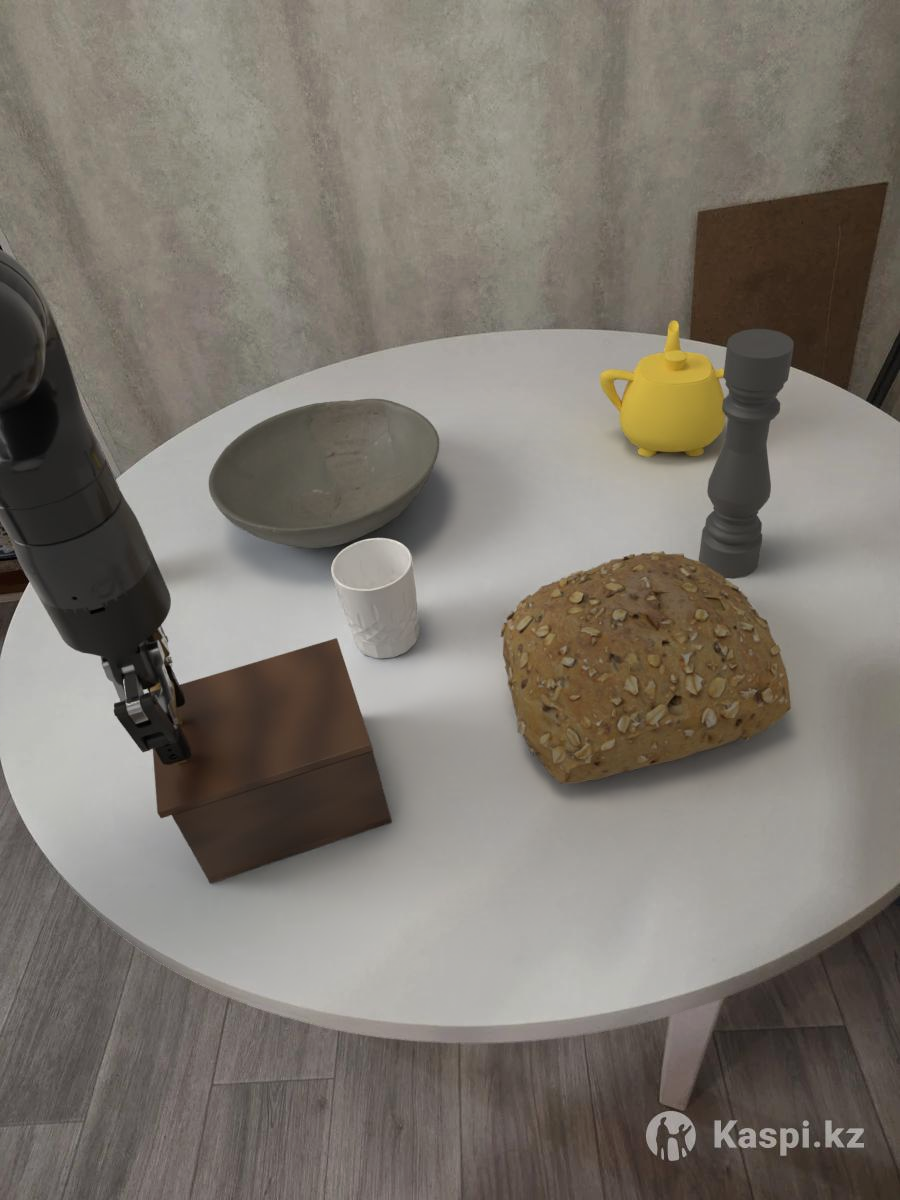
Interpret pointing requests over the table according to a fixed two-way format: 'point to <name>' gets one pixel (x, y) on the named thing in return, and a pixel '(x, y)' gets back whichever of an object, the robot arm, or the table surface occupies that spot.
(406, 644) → the white cup
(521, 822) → the table surface
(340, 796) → the compartment
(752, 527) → the candle holder
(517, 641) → the bread
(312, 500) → the bowl
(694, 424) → the teapot
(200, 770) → the lid
